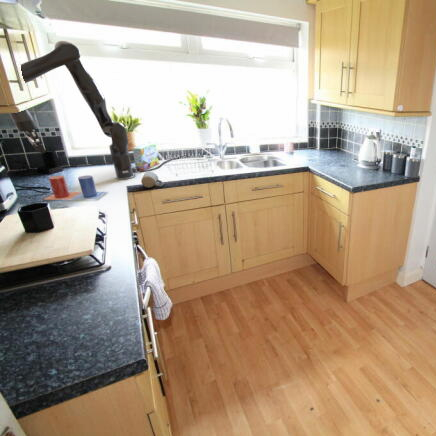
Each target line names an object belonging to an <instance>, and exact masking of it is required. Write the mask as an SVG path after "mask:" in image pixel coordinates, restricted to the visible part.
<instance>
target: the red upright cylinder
mask: <svg viewBox="0 0 436 436" xmlns="http://www.w3.org/2000/svg"><path fill="white" fill-rule="evenodd" d="M48 180H49V183H50V187H51V190H52V193H53V194H54V196H55V198H64V197H68V196H69V195H70V194H69V192H70V191H69V188H68V185H67V182H66V177H65V176H64V175H53V176H49V177H48Z"/></svg>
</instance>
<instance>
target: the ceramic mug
mask: <svg viewBox="0 0 436 436" xmlns="http://www.w3.org/2000/svg"><path fill="white" fill-rule="evenodd" d="M140 182H141V185H142V186H143V187H144V188H147V189H151V188H154V187H163V186H164V181H162V180H160V179H159V177H158V175H157V174H156V173H155V172H153V171H146V172H144V174H143V176H141V181H140Z"/></svg>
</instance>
